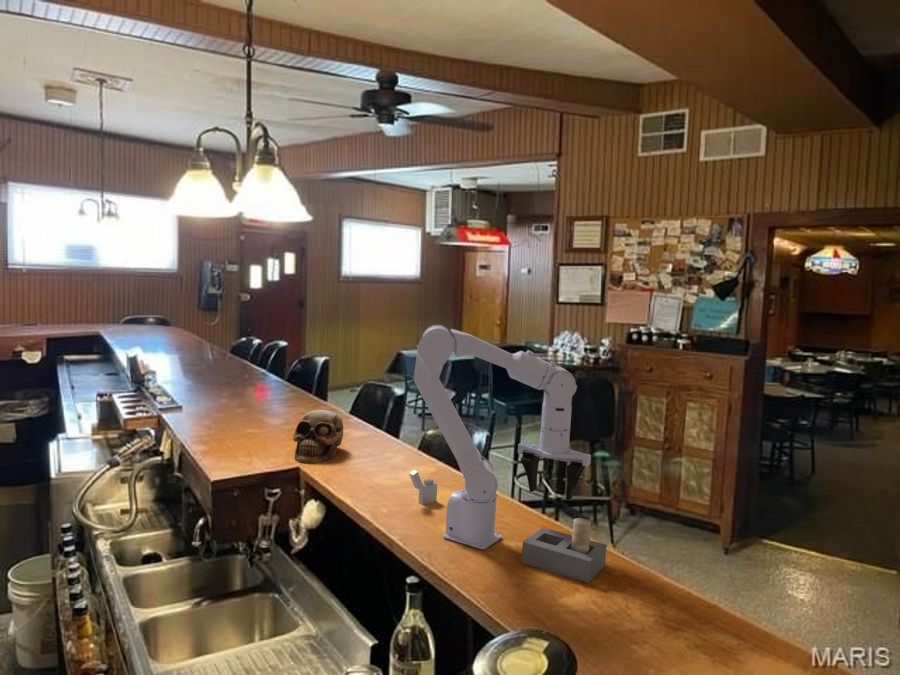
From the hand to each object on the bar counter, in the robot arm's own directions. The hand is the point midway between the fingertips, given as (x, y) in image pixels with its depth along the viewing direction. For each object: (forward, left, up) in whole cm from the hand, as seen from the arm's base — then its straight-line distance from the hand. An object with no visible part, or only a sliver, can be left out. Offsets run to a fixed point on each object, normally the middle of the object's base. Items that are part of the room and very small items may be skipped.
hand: (550, 494), depth 130 cm
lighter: (-32, +2, -10) cm, 34 cm away
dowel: (+10, -8, -9) cm, 15 cm away
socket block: (+7, -8, -10) cm, 14 cm away
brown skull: (-77, +16, -10) cm, 80 cm away
